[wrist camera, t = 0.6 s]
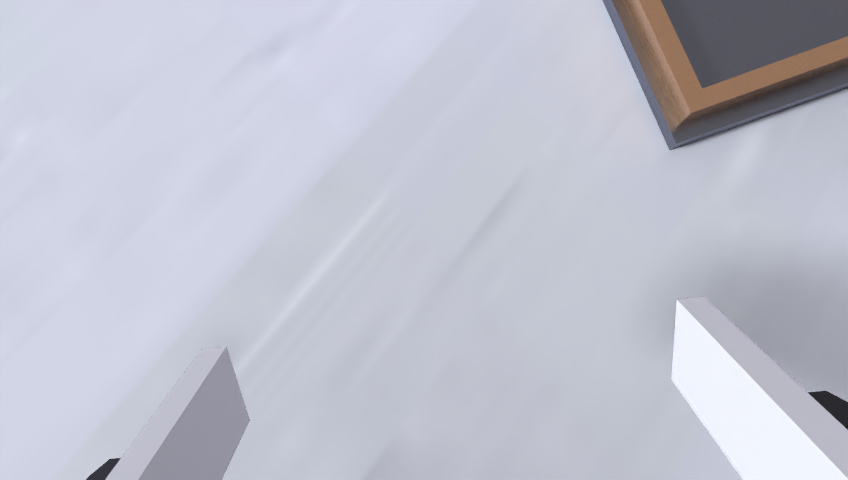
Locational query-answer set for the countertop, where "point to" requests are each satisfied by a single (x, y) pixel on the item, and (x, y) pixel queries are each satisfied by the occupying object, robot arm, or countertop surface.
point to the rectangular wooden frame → (731, 58)
